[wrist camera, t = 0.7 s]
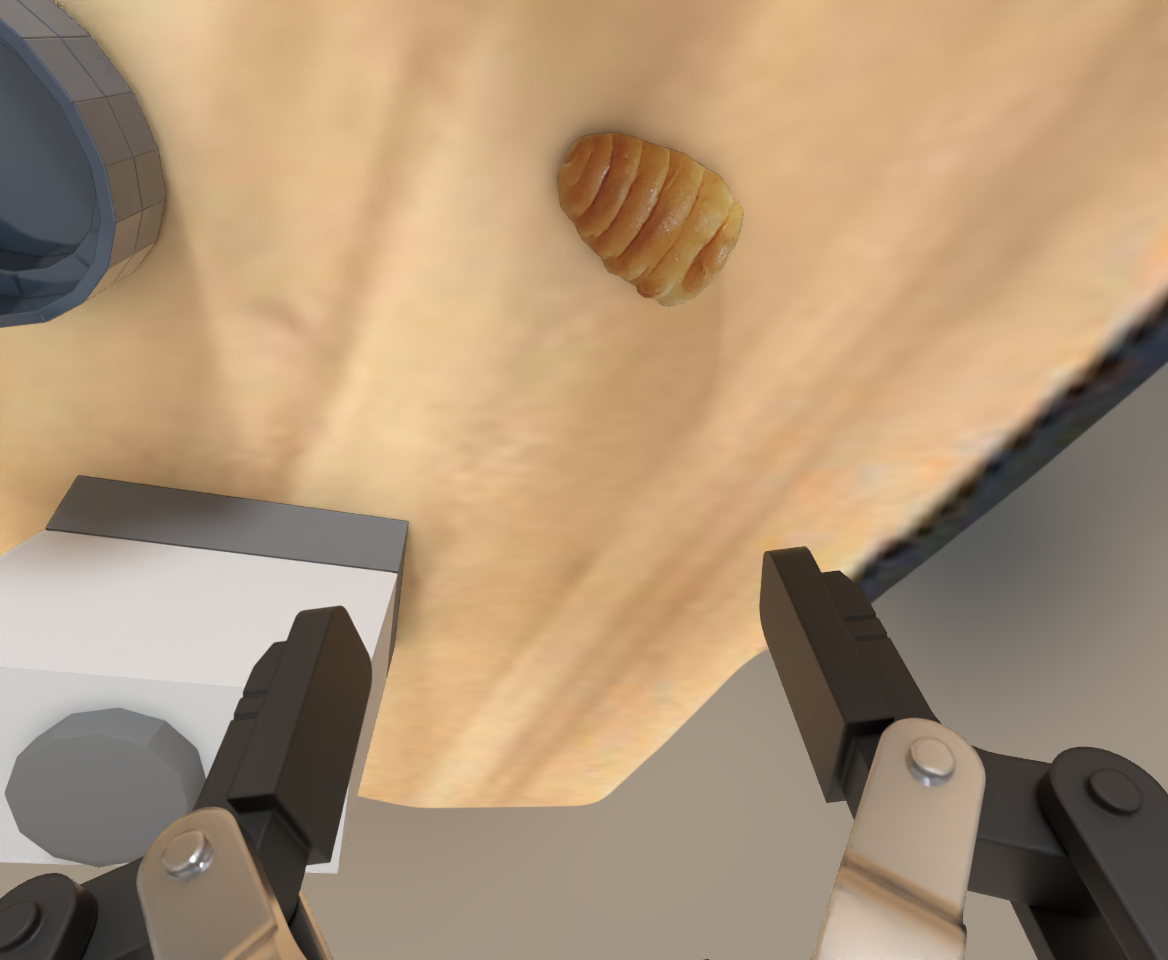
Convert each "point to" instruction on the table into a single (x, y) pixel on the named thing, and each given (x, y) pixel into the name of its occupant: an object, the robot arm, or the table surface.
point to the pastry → (649, 214)
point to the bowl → (68, 167)
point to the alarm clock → (161, 653)
